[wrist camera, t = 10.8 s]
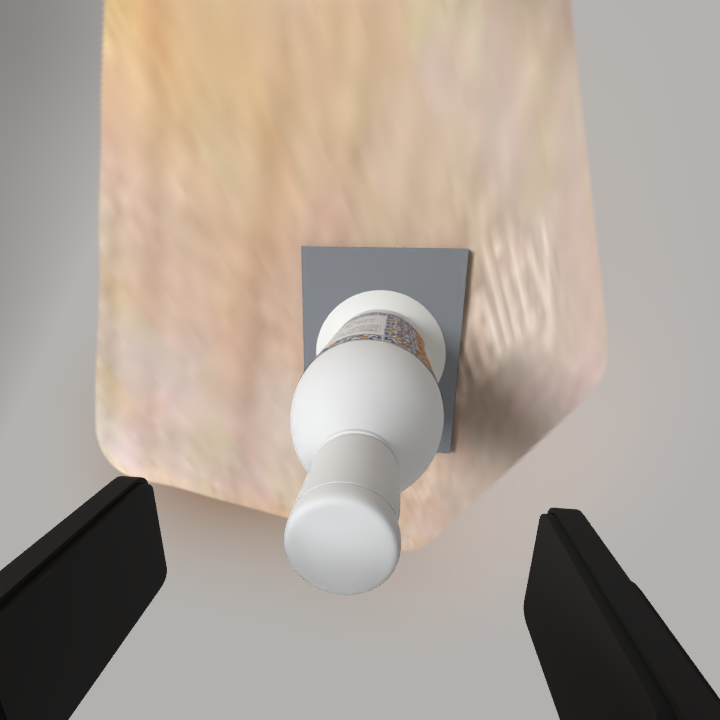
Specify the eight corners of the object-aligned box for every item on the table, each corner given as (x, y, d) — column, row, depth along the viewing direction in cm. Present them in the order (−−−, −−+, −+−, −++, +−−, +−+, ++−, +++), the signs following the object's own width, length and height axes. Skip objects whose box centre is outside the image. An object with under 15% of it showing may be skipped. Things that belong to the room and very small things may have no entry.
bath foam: (421, 397, 29) (472, 674, 9) (334, 392, 29) (214, 643, 10) (428, 309, 27) (507, 429, 8) (335, 306, 27) (189, 408, 8)
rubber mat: (303, 246, 27) (301, 246, 27) (467, 249, 26) (469, 248, 25) (307, 440, 31) (305, 444, 31) (449, 449, 30) (450, 453, 30)
